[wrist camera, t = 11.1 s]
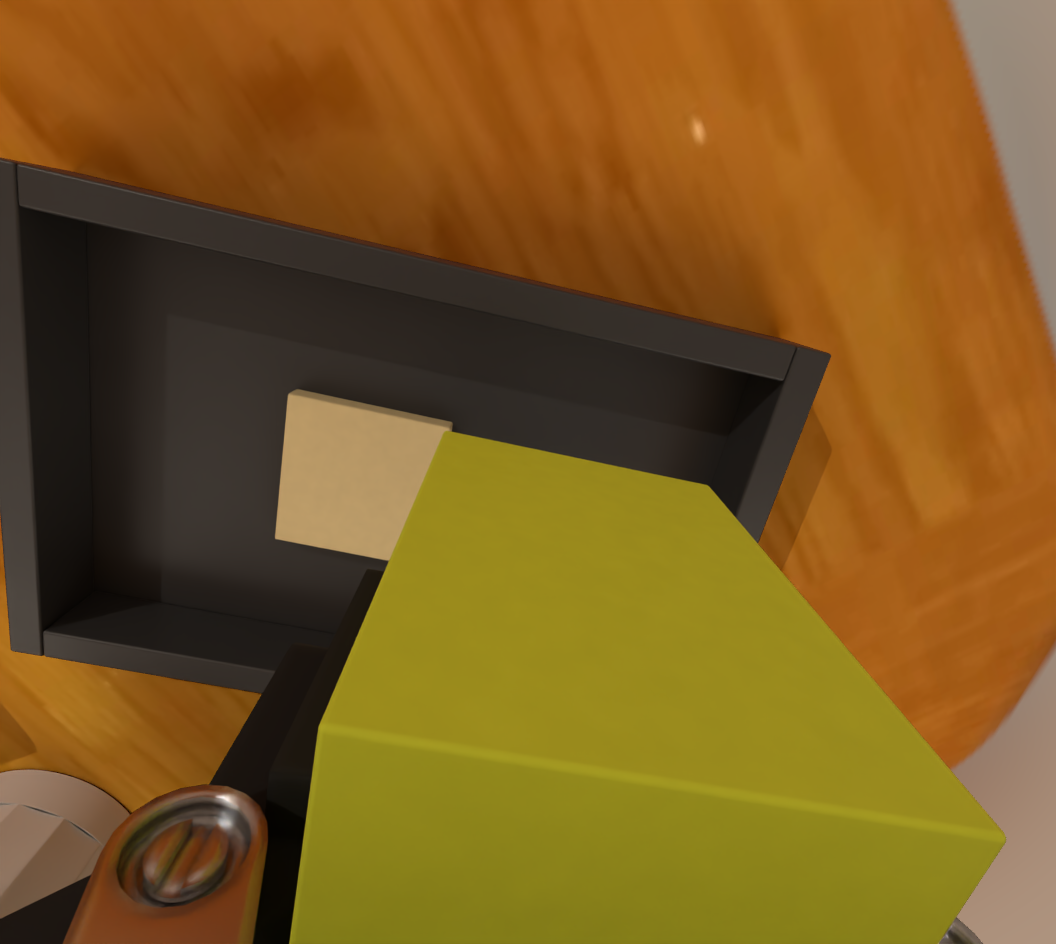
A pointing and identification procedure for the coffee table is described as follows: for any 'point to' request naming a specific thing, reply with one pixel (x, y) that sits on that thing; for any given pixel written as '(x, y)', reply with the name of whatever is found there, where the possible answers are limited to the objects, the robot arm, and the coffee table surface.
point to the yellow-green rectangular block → (614, 736)
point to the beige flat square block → (351, 472)
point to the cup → (49, 833)
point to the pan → (261, 403)
